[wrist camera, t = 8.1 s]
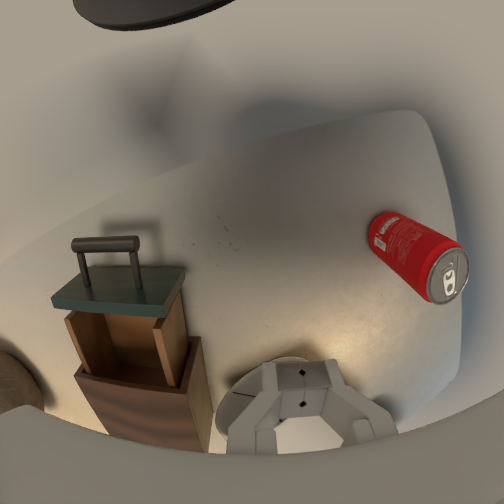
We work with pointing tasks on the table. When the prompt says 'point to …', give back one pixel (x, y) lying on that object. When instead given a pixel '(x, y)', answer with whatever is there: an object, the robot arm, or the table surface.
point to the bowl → (17, 385)
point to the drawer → (126, 316)
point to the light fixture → (288, 429)
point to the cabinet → (155, 407)
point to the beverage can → (420, 256)
